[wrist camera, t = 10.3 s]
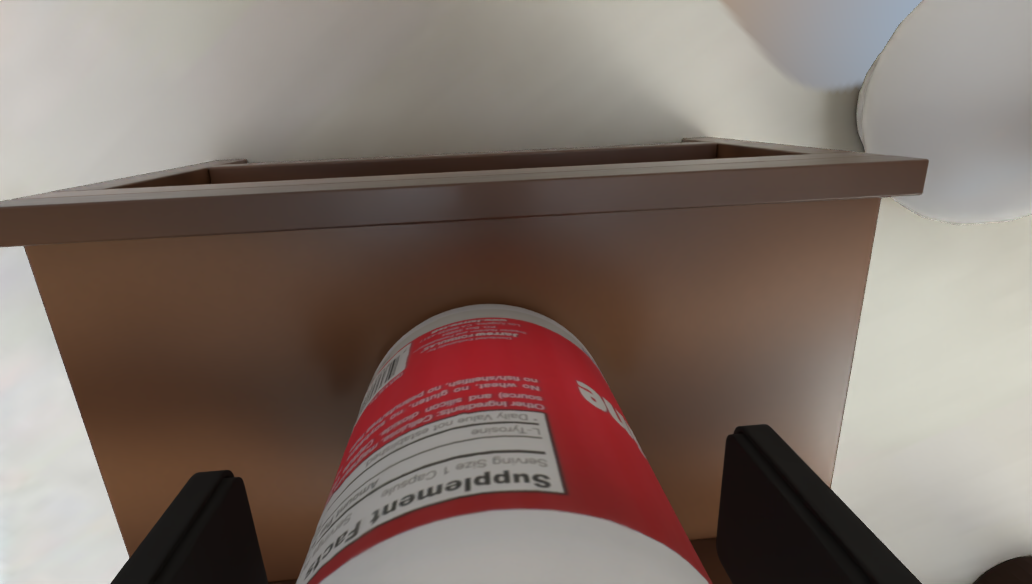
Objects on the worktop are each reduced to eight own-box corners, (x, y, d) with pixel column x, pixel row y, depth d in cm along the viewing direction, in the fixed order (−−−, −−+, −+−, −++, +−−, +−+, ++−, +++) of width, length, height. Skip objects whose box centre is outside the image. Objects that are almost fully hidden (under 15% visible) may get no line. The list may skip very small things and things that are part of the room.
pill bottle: (613, 482, 15) (936, 1291, 5) (398, 522, 15) (241, 1458, 5) (589, 274, 13) (1051, 881, 3) (340, 318, 13) (-173, 1152, 3)
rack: (215, 160, 21) (-144, 228, 9) (709, 137, 23) (1008, 166, 10) (272, 425, 25) (77, 736, 13) (691, 391, 26) (892, 641, 14)
